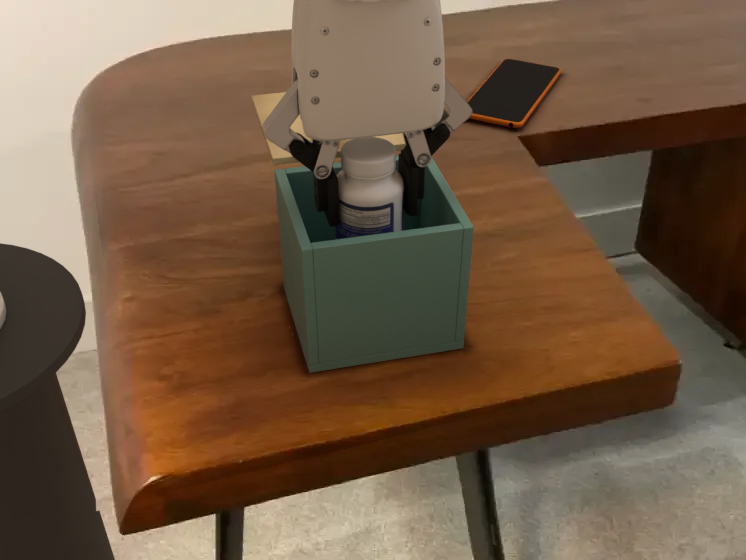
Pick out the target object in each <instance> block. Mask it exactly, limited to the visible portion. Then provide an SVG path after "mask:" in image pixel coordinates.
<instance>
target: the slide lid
mask: <svg viewBox="0 0 746 560" xmlns="http://www.w3.org/2000/svg"><path fill="white" fill-rule="evenodd" d="M286 92H287V91H284V92H275V93H274V92H273V93H264V94H255V95H251V104H252V106H253V110H254V113H255V115H256V118H257V121H258V125H259V127H260V130H261V133H262V136H263V139H264V142H265V144H266V148H267V152H268V154H269V156H270V159H271V163H272V165H273V166H279V165H287V164H295V163H300V162H299V161H298V160H296V159H295V158H294V157H293V156H292V155H291V154H290V153H289V152H287V151H286V150H283V149H282V148H280V147H279V146H277V145H275V144H274V143H272V142H271V141H269V140H268V139H267V138H266V136H265V133H264V131H263V123H264V121H265V120H266V119H267V117H268V116H269V115H270V113H271V112H272V111H273V109H274V108H275V107H276V105H277V104H278V103H279V101H280V100H281V99H282V97H283V96H284V95H285V93H286ZM290 128H291V129H292V130H293V131H294V132H296V133H299V134H301V135H302V136H303V137H305V138H306V139H307V140H308V141H311V138H309V137H308V136H306V134H305V133H304V130H303V125H302V120H301V117H300V114H299V116H298V117H297V118H296V120H295V121H294V122H293V124H292V125H291V126H290ZM374 137H378V138H382V139H385V140H387V141H389V142H391V143H392V144H393V145H394V147H395V149H396V152H398V151H400V152H401V150H402V149H404V147H405V146H406V144H405V141H404V138H403V135H402V133H400V134H392V135H383V136H374ZM349 140H352V139H347V140H341V141H340V144H339V147H338V150H337V154H336V157H335V159H339V158H340V159H341V148H342V146H343V145H344V143H346V142H347V141H349Z"/></svg>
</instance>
